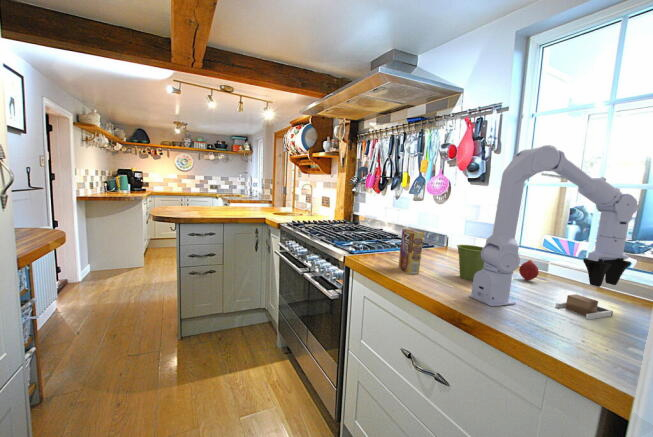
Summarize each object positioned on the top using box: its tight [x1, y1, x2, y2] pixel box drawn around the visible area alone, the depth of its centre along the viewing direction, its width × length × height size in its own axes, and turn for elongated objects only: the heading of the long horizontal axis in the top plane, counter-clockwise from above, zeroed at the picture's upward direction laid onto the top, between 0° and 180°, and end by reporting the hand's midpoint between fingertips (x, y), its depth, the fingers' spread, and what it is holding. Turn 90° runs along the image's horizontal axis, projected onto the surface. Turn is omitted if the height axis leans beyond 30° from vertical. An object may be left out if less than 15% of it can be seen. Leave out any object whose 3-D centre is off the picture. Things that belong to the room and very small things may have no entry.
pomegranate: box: [518, 258, 539, 282], centre depth 107 cm, size 6×6×8 cm
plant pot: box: [456, 244, 484, 282], centre depth 104 cm, size 12×12×11 cm
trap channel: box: [554, 301, 614, 320], centre depth 80 cm, size 11×8×1 cm
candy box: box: [397, 228, 425, 275], centre depth 109 cm, size 9×4×15 cm, turn 13°
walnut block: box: [564, 293, 599, 317], centre depth 80 cm, size 4×5×4 cm
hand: (603, 284), depth 82 cm, fingers open, 7 cm apart
